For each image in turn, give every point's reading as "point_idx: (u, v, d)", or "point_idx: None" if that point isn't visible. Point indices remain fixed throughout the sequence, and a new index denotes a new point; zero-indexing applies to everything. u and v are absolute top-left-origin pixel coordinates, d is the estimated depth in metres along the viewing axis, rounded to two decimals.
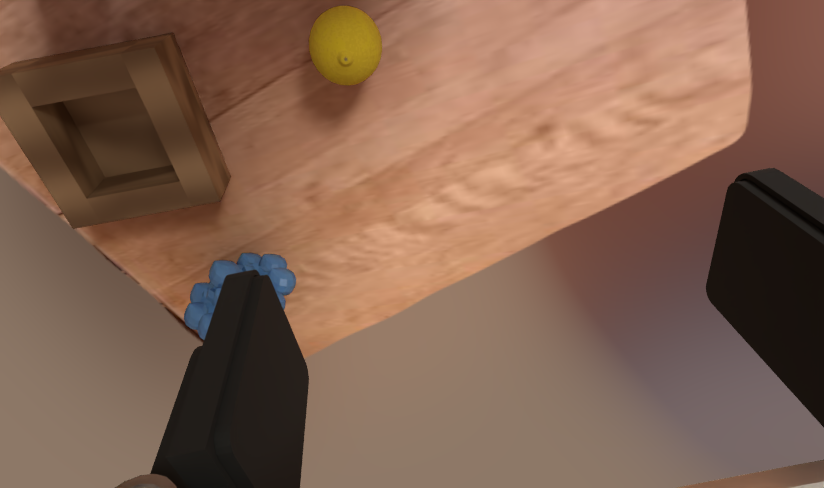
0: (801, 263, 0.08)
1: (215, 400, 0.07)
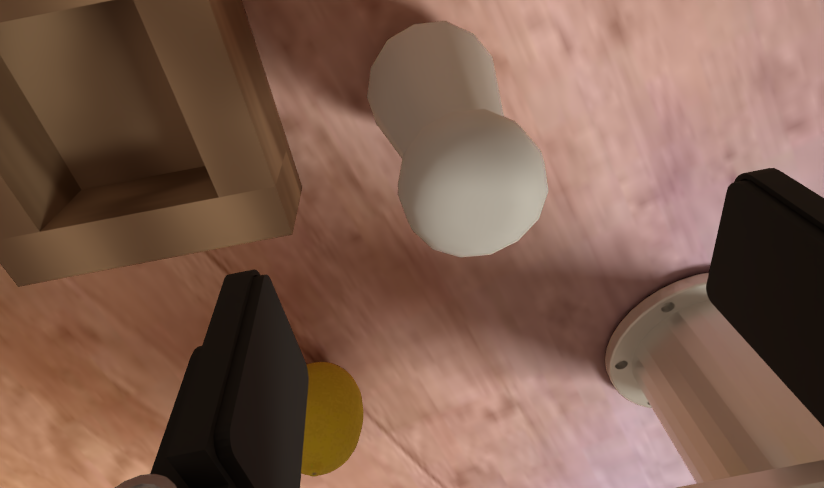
0: (801, 263, 0.08)
1: (214, 400, 0.07)
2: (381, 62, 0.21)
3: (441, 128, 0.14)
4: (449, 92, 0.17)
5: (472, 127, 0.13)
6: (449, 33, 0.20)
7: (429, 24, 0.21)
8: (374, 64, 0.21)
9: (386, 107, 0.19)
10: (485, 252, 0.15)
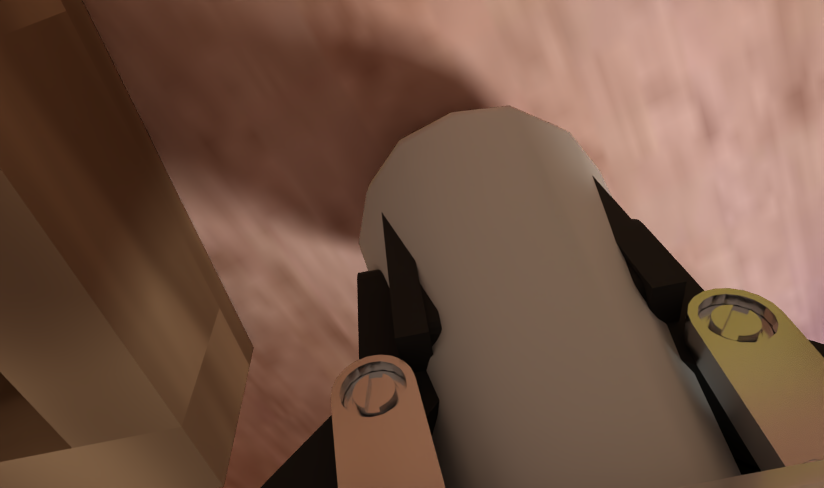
0: None
1: (418, 298, 0.08)
2: (388, 195, 0.10)
3: None
4: (583, 374, 0.06)
5: None
6: (532, 145, 0.09)
7: (485, 118, 0.10)
8: (373, 191, 0.11)
9: None
10: None
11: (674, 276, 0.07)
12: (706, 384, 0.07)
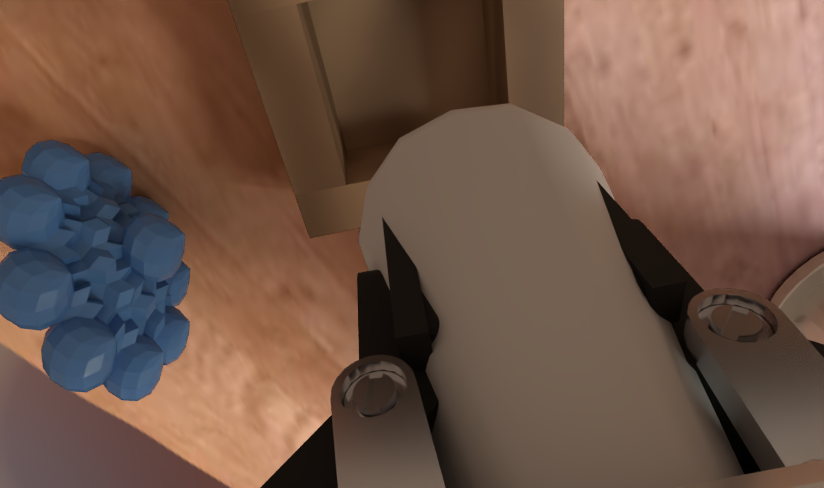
0: None
1: (418, 298, 0.08)
2: (387, 193, 0.10)
3: None
4: (584, 372, 0.06)
5: None
6: (533, 143, 0.09)
7: (485, 116, 0.10)
8: (373, 189, 0.11)
9: None
10: None
11: (674, 276, 0.07)
12: (706, 384, 0.07)
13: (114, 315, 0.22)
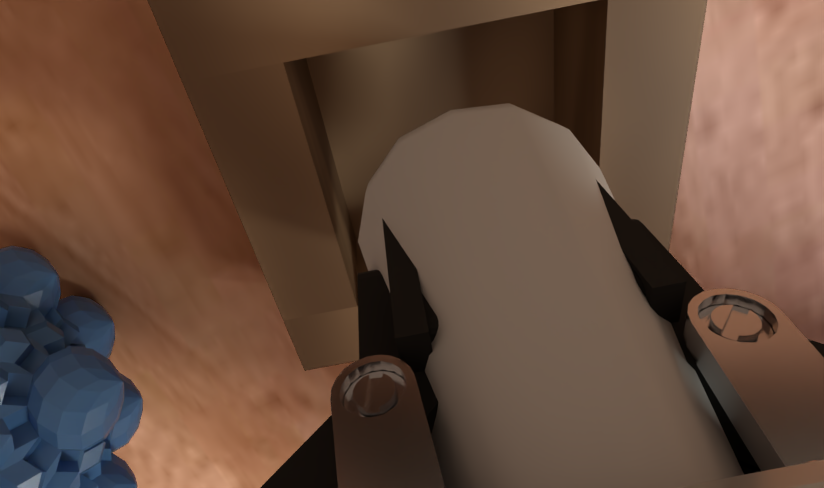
0: None
1: (418, 299, 0.08)
2: (387, 193, 0.10)
3: None
4: (583, 372, 0.06)
5: None
6: (532, 143, 0.09)
7: (485, 116, 0.10)
8: (372, 189, 0.11)
9: None
10: None
11: (674, 276, 0.07)
12: (706, 384, 0.07)
13: None
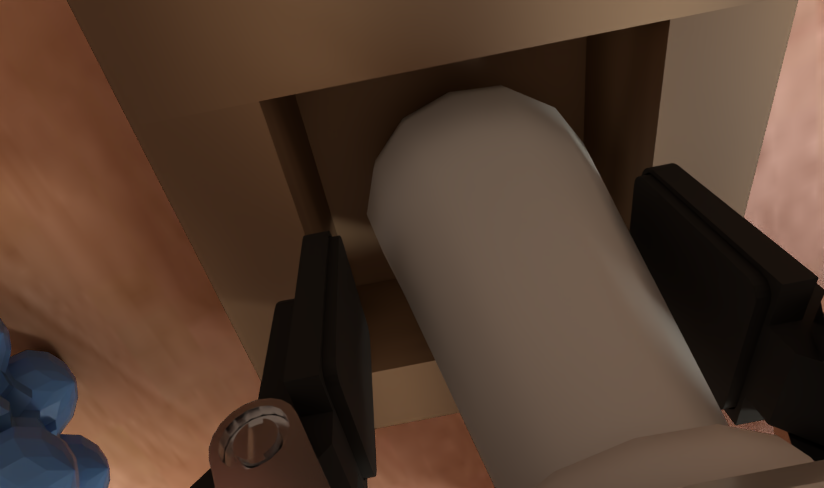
0: (686, 250, 0.09)
1: (317, 336, 0.08)
2: (394, 166, 0.11)
3: None
4: (570, 296, 0.07)
5: None
6: (523, 118, 0.11)
7: (480, 96, 0.11)
8: (380, 165, 0.12)
9: (410, 269, 0.10)
10: None
11: (803, 272, 0.07)
12: None
13: None
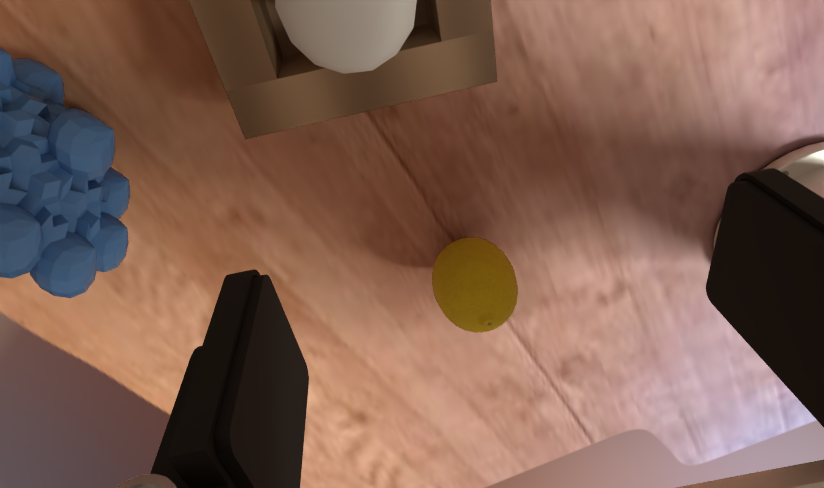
0: (801, 263, 0.08)
1: (215, 400, 0.07)
2: None
3: None
4: None
5: None
6: None
7: None
8: None
9: None
10: (363, 62, 0.15)
11: None
12: None
13: (41, 207, 0.22)
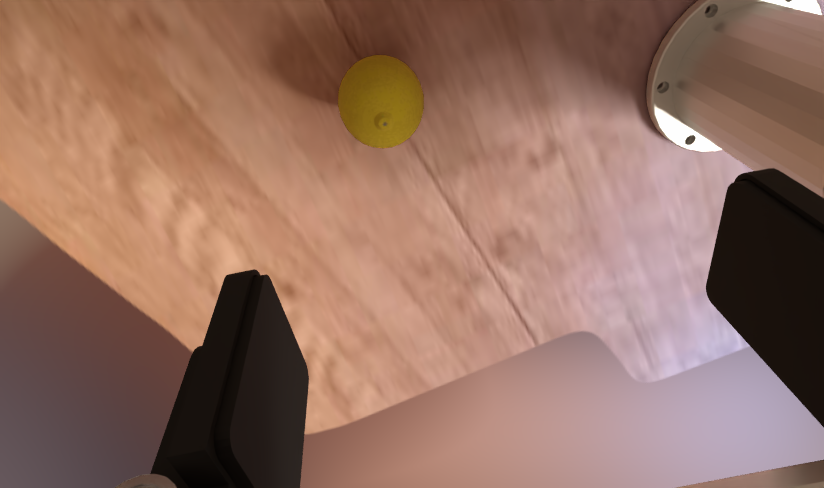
0: (801, 263, 0.08)
1: (215, 400, 0.07)
2: None
3: None
4: None
5: None
6: None
7: None
8: None
9: None
10: None
11: None
12: None
13: None
